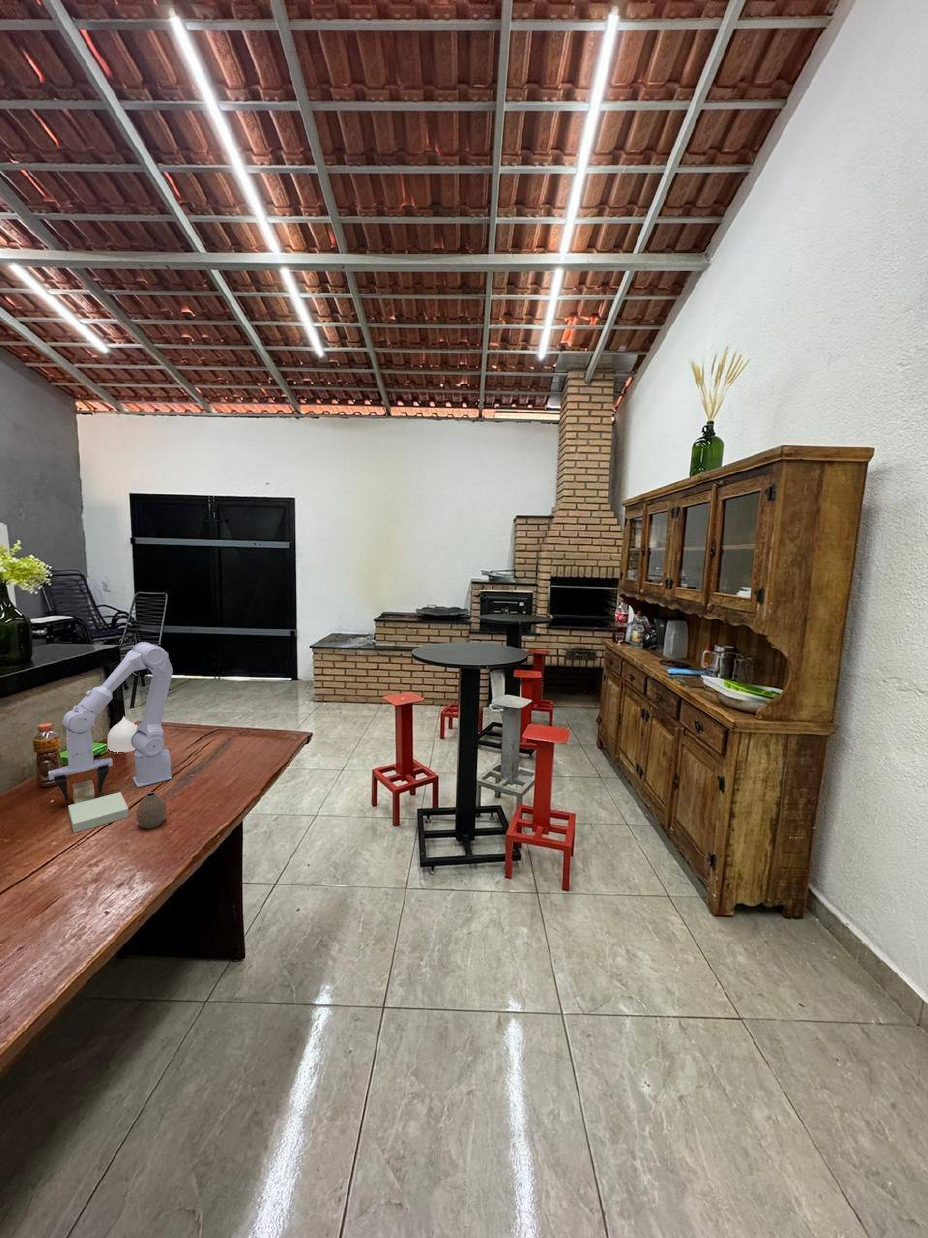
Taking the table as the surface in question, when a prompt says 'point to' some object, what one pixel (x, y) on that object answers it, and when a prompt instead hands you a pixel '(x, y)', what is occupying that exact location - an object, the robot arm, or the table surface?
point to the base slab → (97, 812)
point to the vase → (151, 811)
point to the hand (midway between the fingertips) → (83, 795)
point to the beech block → (83, 791)
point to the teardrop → (121, 736)
